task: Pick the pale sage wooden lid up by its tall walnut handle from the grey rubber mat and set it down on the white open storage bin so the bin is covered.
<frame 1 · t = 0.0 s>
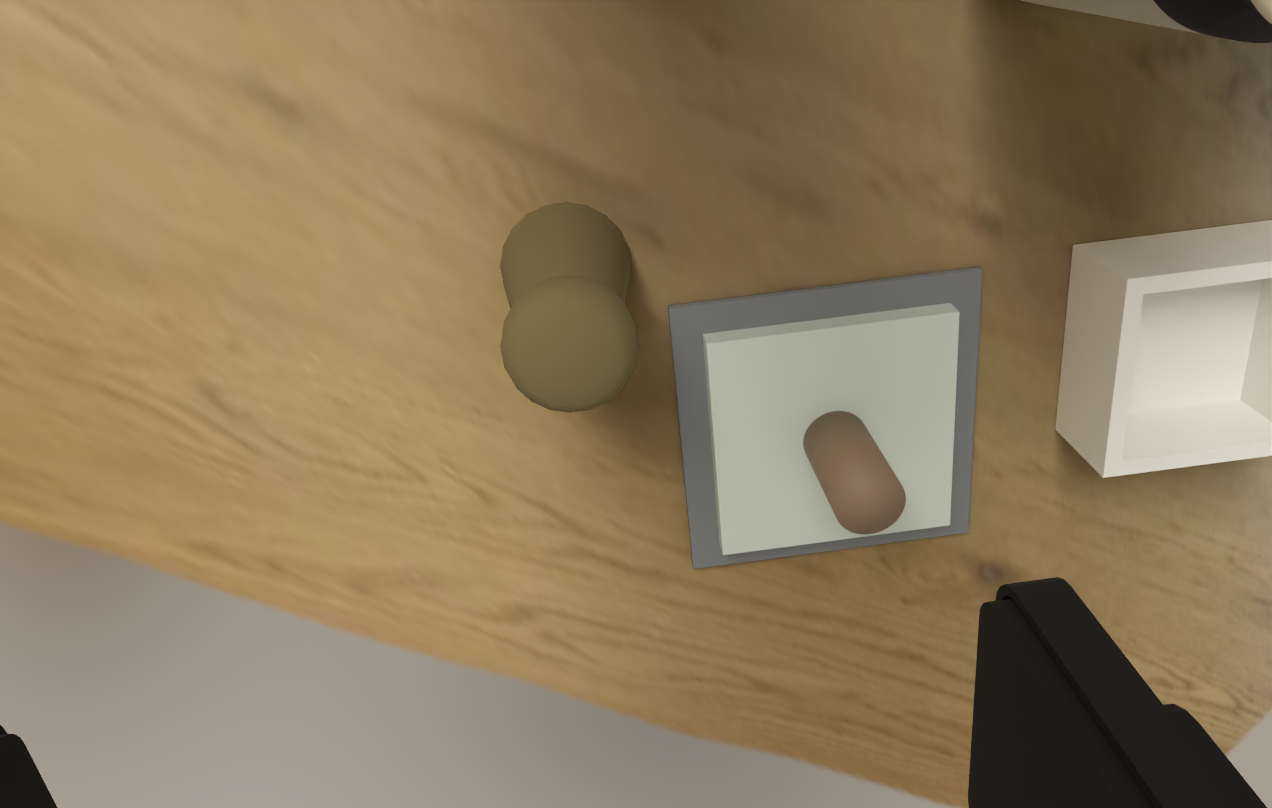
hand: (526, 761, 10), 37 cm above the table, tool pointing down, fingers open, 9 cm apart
lid: (829, 428, 50), resting on mat
white open storage bin: (1161, 328, 50), on the table
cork: (566, 265, 46), on the table
mat: (827, 424, 51), on the table
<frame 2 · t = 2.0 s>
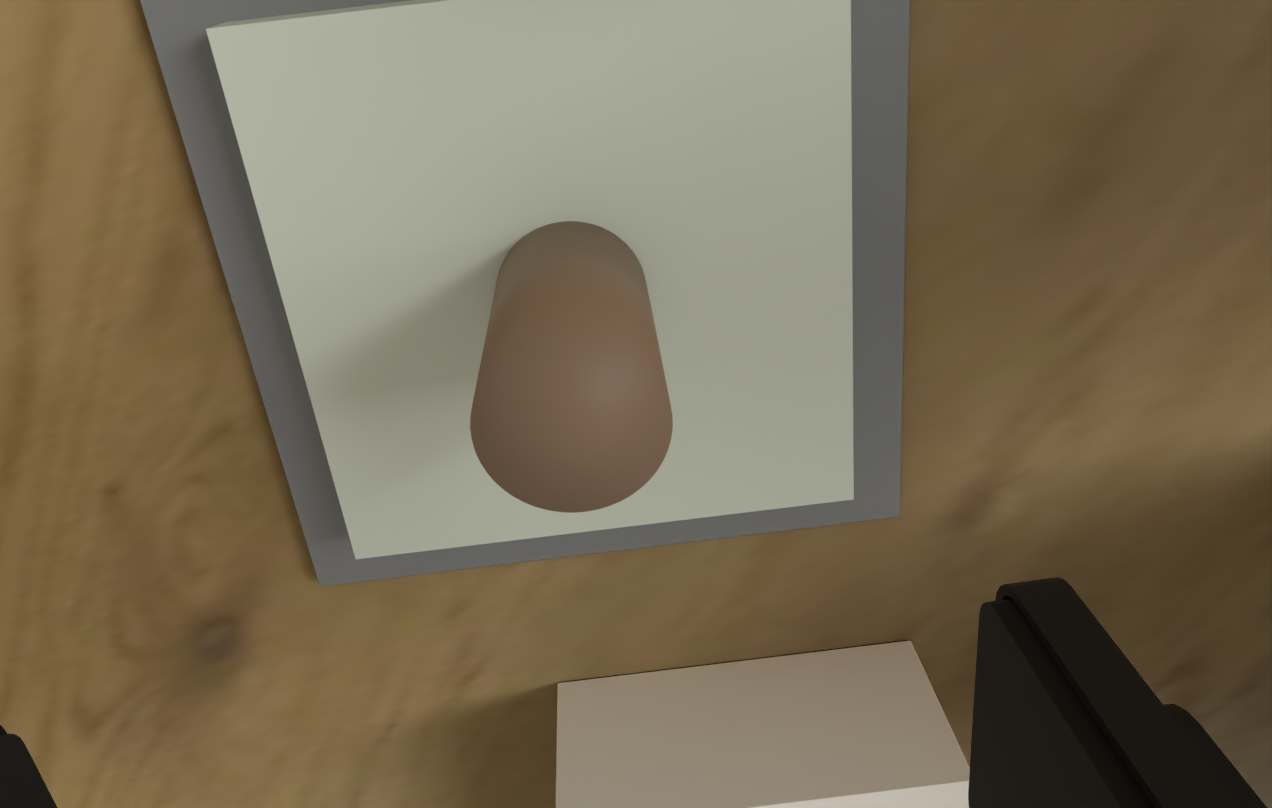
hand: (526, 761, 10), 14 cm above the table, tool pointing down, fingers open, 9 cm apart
lid: (571, 275, 22), resting on mat
white open storage bin: (744, 788, 30), on the table
mat: (571, 270, 23), on the table
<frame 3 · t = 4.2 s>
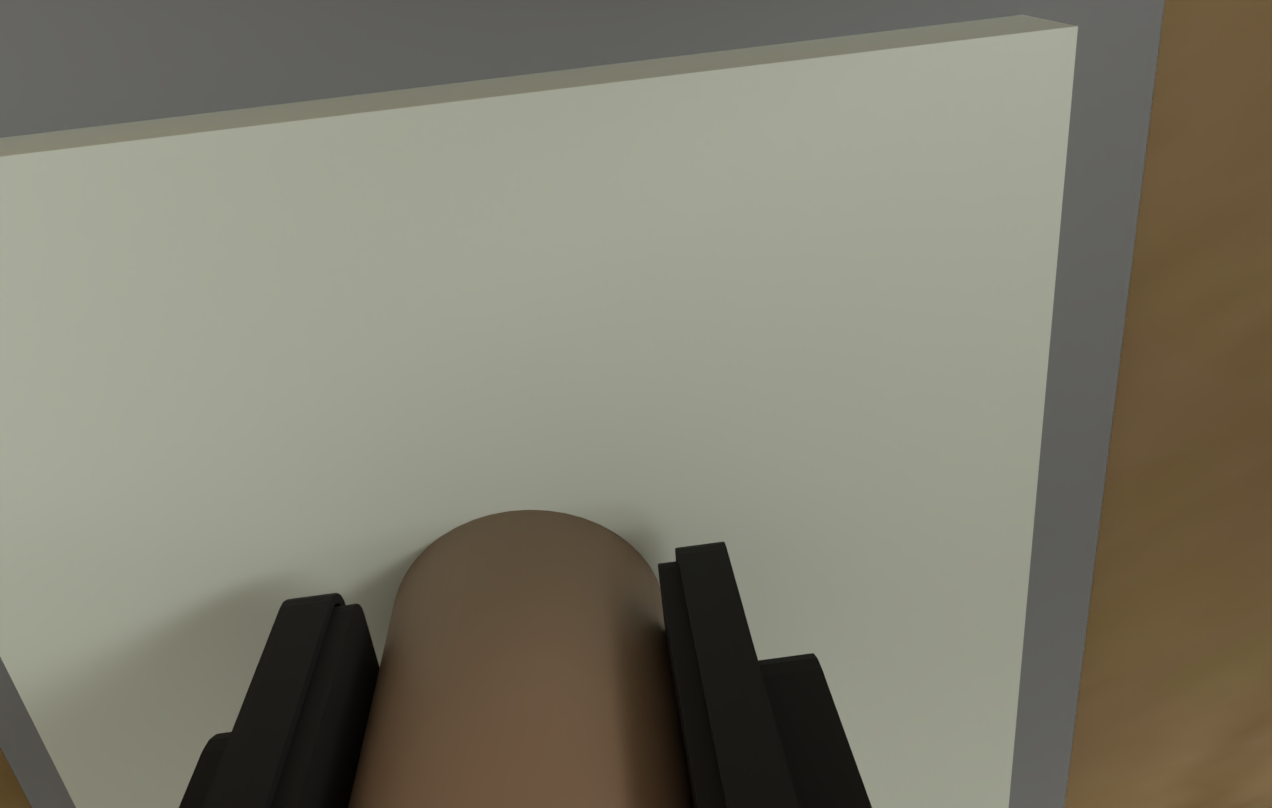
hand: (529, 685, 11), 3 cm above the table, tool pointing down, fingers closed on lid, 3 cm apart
lid: (532, 565, 13), resting on mat, touching gripper
mat: (532, 548, 13), on the table
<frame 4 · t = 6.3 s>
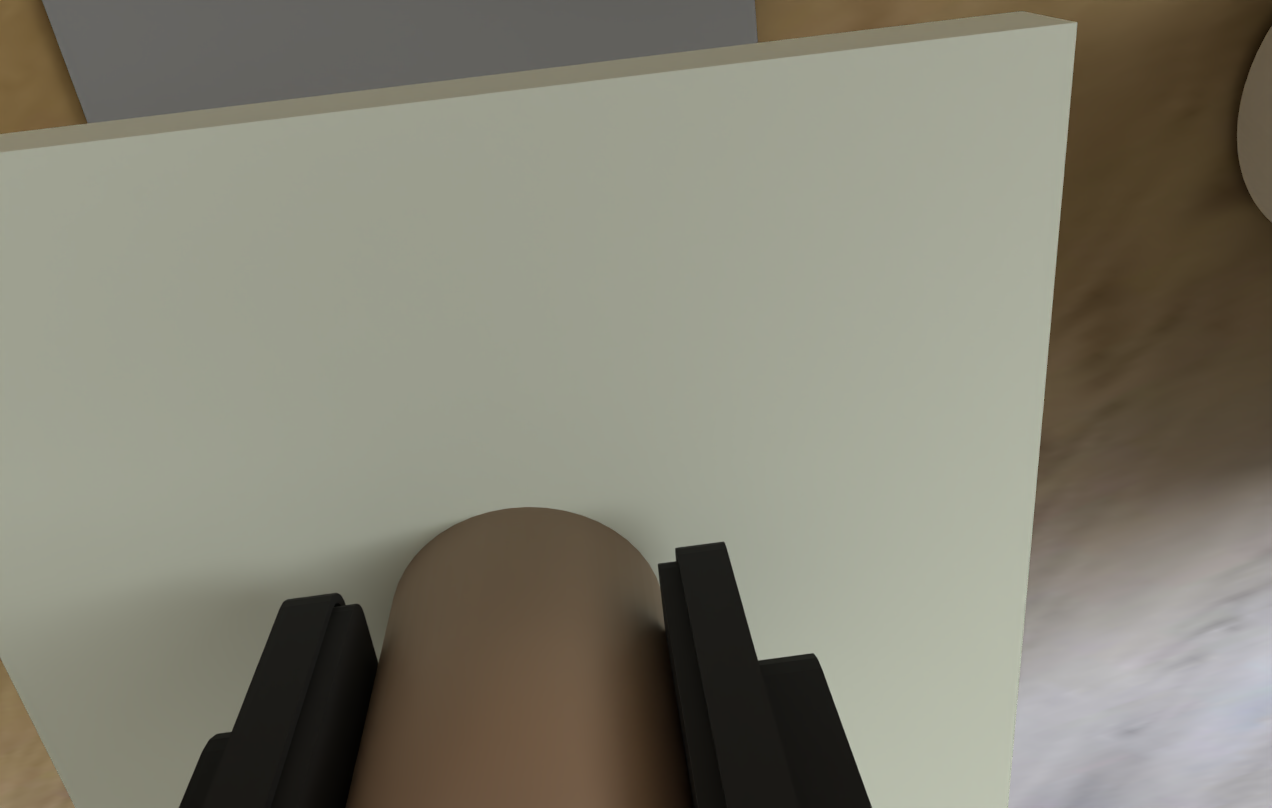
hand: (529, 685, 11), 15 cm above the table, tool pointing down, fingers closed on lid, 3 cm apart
lid: (531, 563, 13), point 13 cm above the table, touching gripper
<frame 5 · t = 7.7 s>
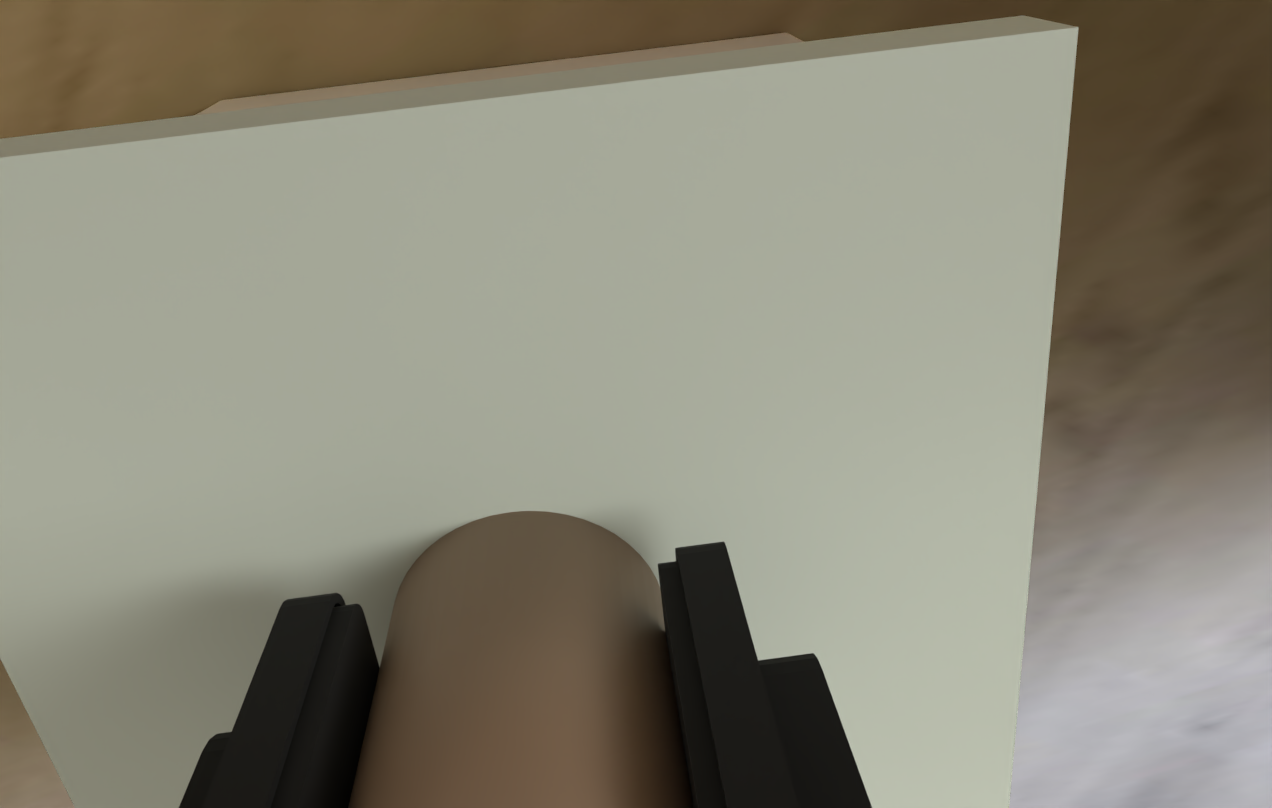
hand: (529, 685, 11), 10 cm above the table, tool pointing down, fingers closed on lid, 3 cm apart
lid: (532, 566, 13), point 8 cm above the table, touching gripper
white open storage bin: (546, 328, 20), on the table
when the fingers open (8 cm above the table, at t = 8.7 s): lid stays where it is, resting on white open storage bin.
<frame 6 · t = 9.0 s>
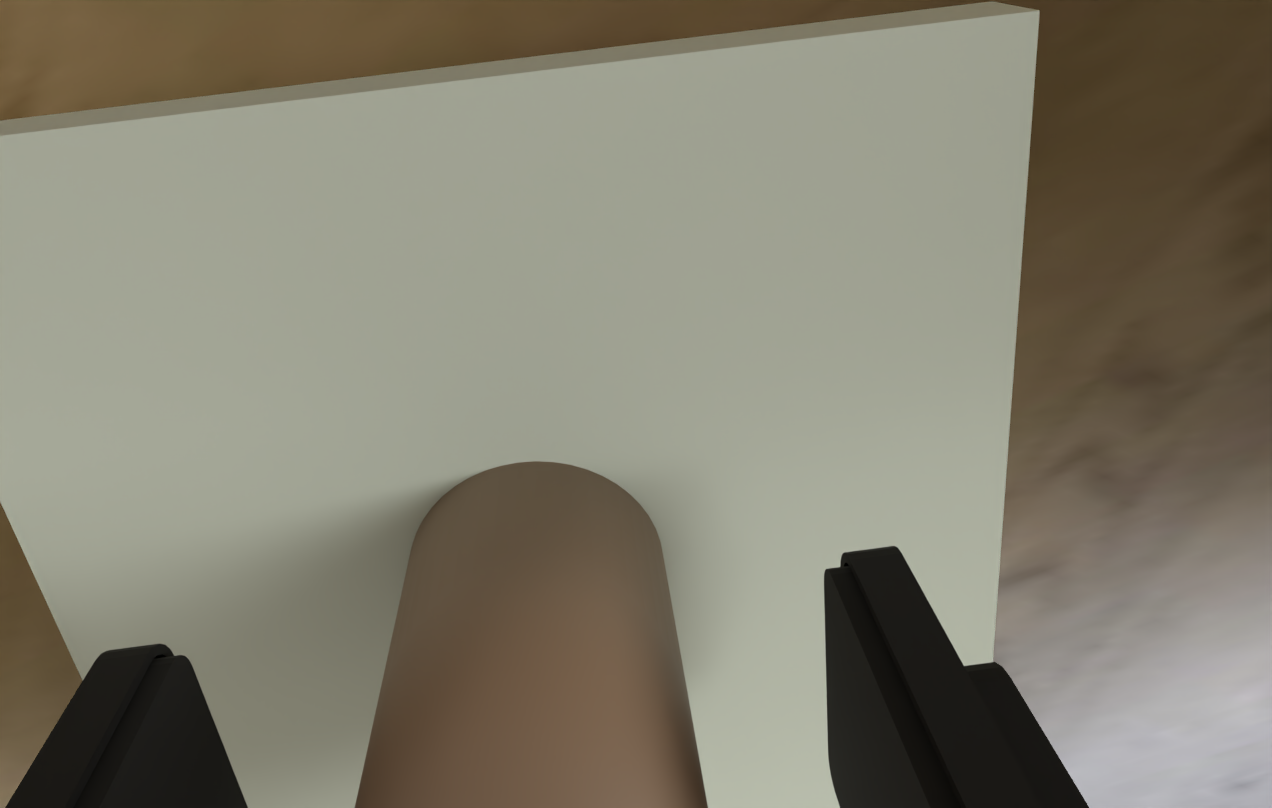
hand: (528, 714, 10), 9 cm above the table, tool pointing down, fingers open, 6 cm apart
lid: (538, 520, 14), point 5 cm above the table, touching white open storage bin
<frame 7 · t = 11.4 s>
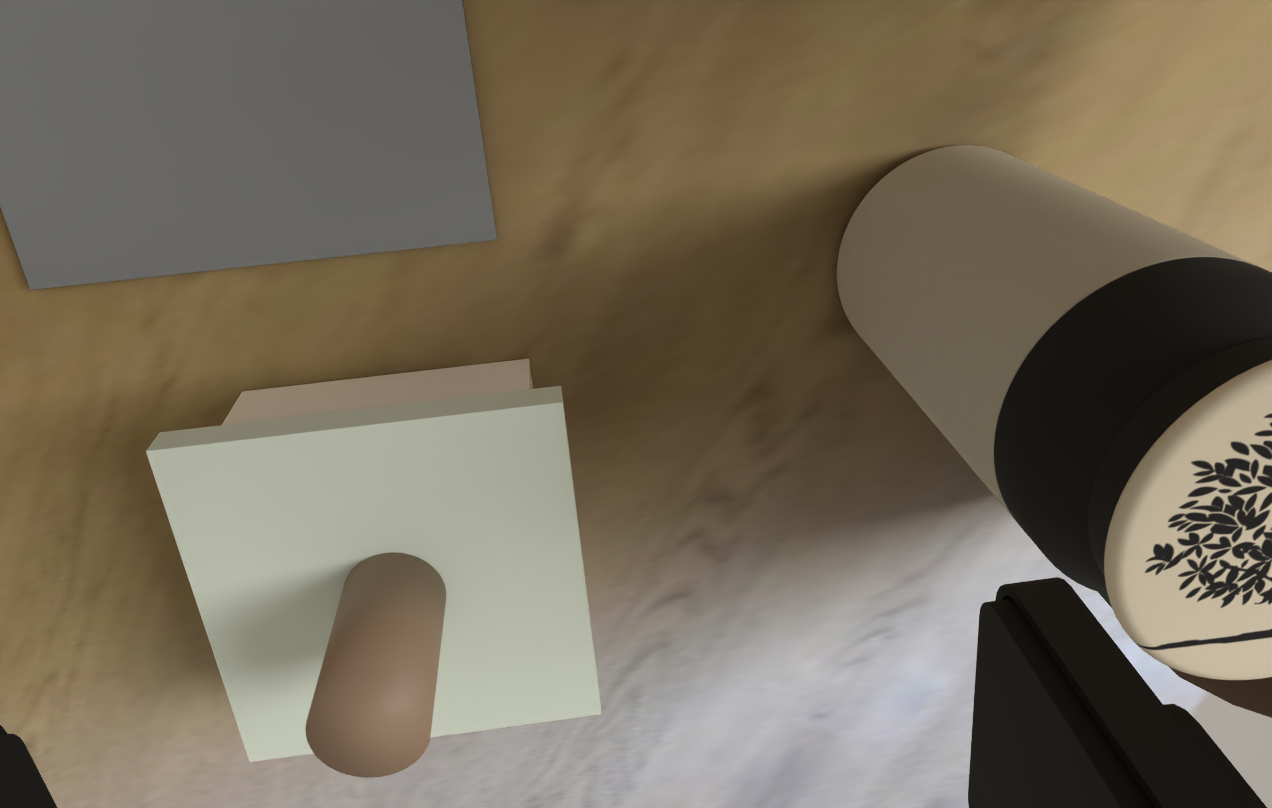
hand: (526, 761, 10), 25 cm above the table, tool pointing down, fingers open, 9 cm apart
lid: (399, 573, 33), point 5 cm above the table, touching white open storage bin
beer bottle: (1061, 392, 38), on the table
white open storage bin: (412, 497, 37), on the table
travel mug: (941, 255, 35), on the table
mat: (208, 18, 30), on the table
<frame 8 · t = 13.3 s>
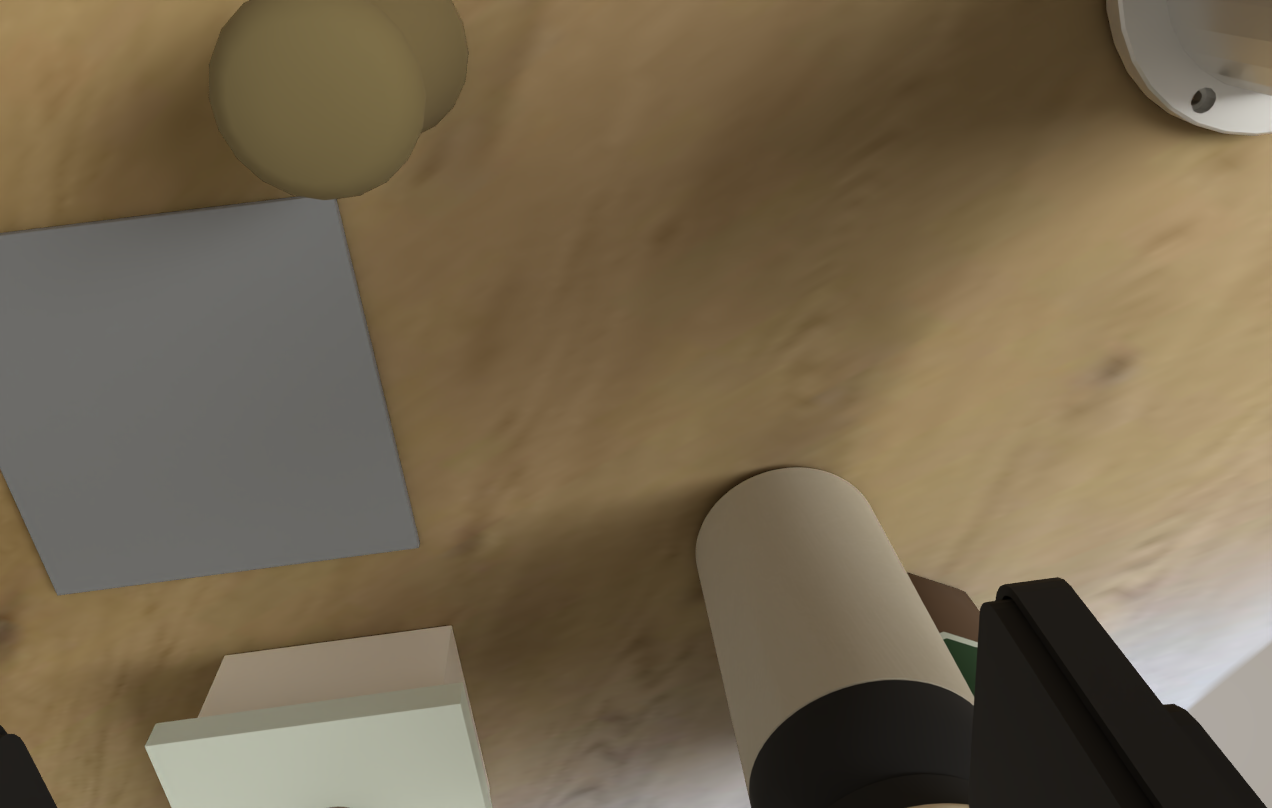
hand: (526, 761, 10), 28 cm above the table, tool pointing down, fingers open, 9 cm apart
beer bottle: (895, 633, 46), on the table
white open storage bin: (364, 725, 46), on the table
travel mug: (784, 539, 44), on the table
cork: (378, 49, 33), on the table
mat: (186, 407, 38), on the table
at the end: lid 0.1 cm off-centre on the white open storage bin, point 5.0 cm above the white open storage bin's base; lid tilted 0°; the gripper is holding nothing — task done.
